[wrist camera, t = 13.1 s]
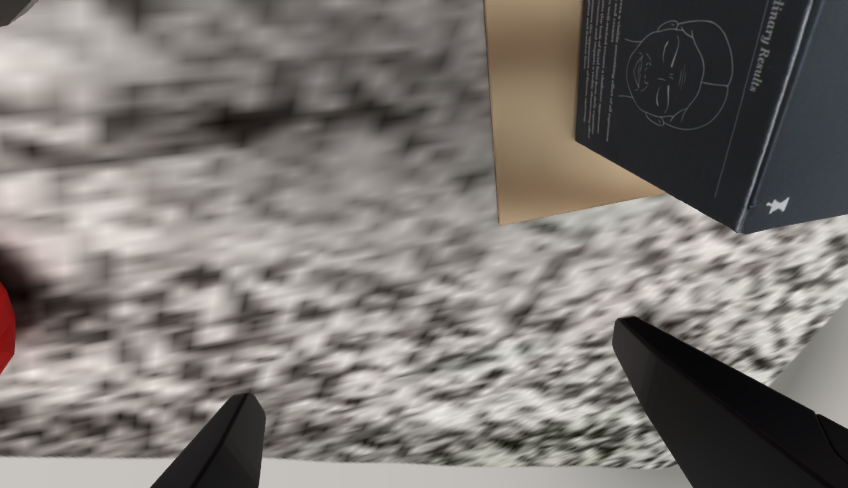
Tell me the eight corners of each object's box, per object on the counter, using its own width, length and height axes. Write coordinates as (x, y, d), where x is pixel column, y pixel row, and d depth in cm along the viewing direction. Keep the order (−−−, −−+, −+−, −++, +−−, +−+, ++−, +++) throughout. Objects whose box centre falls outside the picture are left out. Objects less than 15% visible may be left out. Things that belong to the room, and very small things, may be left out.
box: (674, 123, 20) (919, 206, 11) (570, 141, 20) (731, 241, 11) (712, -63, 16) (1154, -177, 7) (582, -41, 16) (855, -126, 7)
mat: (473, -146, 14) (475, -149, 14) (785, -206, 14) (792, -210, 14) (498, 223, 22) (500, 225, 22) (694, 184, 22) (697, 186, 22)
